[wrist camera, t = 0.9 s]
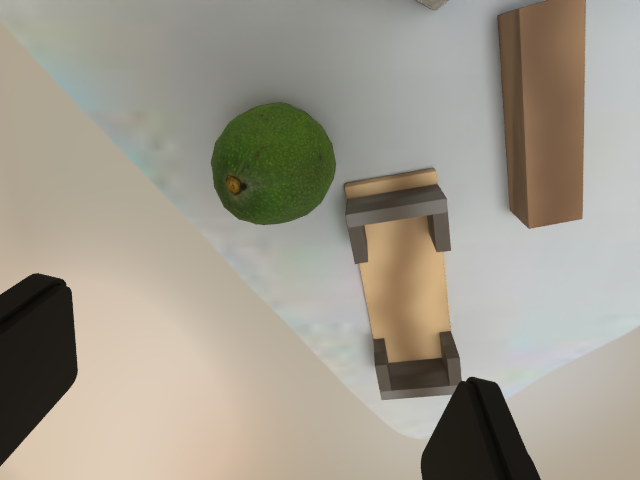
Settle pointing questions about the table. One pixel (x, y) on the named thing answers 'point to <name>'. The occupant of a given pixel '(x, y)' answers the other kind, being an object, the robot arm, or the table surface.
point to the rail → (405, 281)
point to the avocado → (272, 164)
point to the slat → (544, 109)
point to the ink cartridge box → (433, 3)
